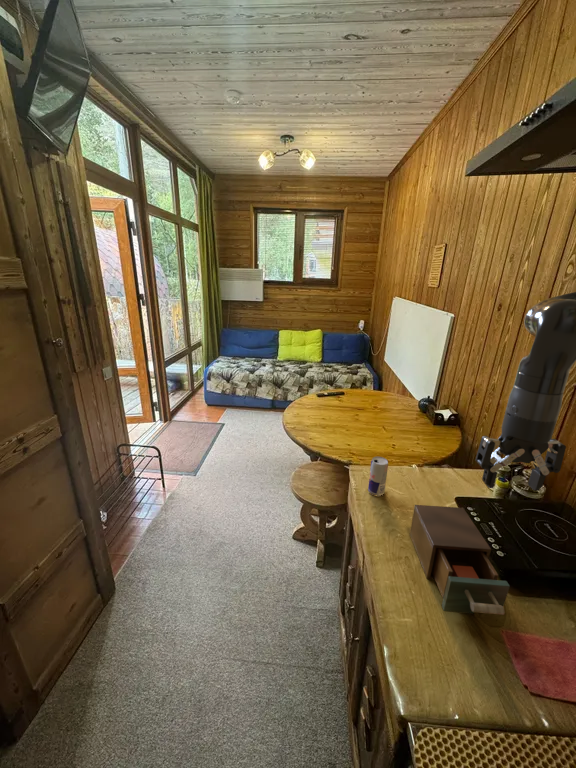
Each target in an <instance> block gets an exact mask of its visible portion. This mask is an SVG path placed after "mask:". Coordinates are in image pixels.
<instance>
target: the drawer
mask: <svg viewBox="0 0 576 768" xmlns="http://www.w3.org/2000/svg"><path fill="white" fill-rule="evenodd" d="M452 565H457V566H471V567H473V569H474V571H475V572H476V574H477V576H478V577H479V579H477V578H465V577H452V573H453V571H452V569H451V568H452ZM432 574H433V576H434V579H433V580H434V581H435V583H436V585H437V588H438V590H439V593H440V595H441V598H442V603H441V607H442V610H443V612H450V613H460V614H461V613H462V614H472V615H474V614H475V613H478V614H479V613H481V614H491V615H493V614H494V615H503V616H504V615H505V613H506V612H505V608H504V606H505V603H506V600H507V597H508V595H509V591H510V584H509V583H508V581H507V580H500V579H499V573H498V572H497V571H496V569H495V567H494V566H493V564H492V562H491V561H490V559H489V560H488V558H487V556H486V555H485V553H484V552H483V551H470V550H457V549H444V548H436V552H435V557H434V562H433V567H432Z"/></svg>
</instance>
